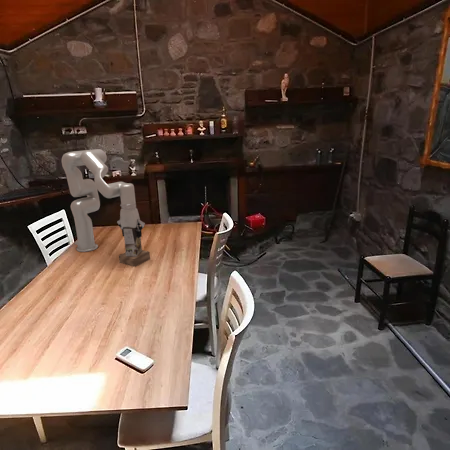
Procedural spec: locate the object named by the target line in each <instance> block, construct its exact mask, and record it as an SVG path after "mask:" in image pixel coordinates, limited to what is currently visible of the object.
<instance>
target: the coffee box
mask: <svg viewBox="0 0 450 450" xmlns="http://www.w3.org/2000/svg"><path fill="white" fill-rule="evenodd" d="M123 230H124V237H123V238H124V247H125V252H126V256H133V257H136V256H138V255H139V253H140V252H141V251H142V250H143V247H142V246H143V245H142V237H140V238H137V231H138V230H137V229H136V228H126V227H125V228H124V229H123Z"/></svg>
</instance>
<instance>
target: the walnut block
mask: <svg viewBox="0 0 450 450" xmlns="http://www.w3.org/2000/svg"><path fill="white" fill-rule="evenodd" d="M149 260H151V254H150V251H147V250H143V249H142V251H141V252H140V253H139V255H138V256H136V257H133V256H126V251H125V252H123V253H121V254H119V255H118V262H119V264H122V265H127V266H130V267H135V268H136V267H137V266H139V265H142V264H143V263H146V262H148V261H149Z"/></svg>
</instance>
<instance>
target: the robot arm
mask: <svg viewBox="0 0 450 450" xmlns="http://www.w3.org/2000/svg"><path fill="white" fill-rule="evenodd" d="M107 160H108V157H107V154H106V152H105V151H104V149H100V148H94V149H86V150H83V149H82V150H75V151H68V152H66V153H63V155H62V157H61V166H62V169H63V170H64V173H65V176H66V180H67V184H68V189H69V193H70V195H71V196H72V197H73V198H77V199H75V200H73V201H72V202H71V204H70V210H71V213H72V216H73V219H74V224H75V231H76V237H77V240H76V241H74V245H75V246H76V245H77V247H76V251H77V252H78V253H79V252H80V253H84V252H85V253H87V252H92V251H94V250H97V249H98V247H99V245H98V244H97V243H95V237H94V230H93V229H94V228H93V227H94V226H93V222H92V221H93V220H92V219H91V217H90V216H89V215H88V214H90V213H94V212H96V211H99V209H100V206H101V200H100V195H99V193H100V194H101V195H102V196H103V197H104V198H106V199H112V198H117V197H120V205H119V206H120V207H121V209H120V212H119V215H120V216H119V220H117V222H116V223H117V224H118V227H119V228H120V230H121V233H122V237H123V238H124V230H123V229H124V228H125V227H126V228H136V229H137V230H138V231H137V238H140V237H141V238H142V236H143V235H142V234H143V233H142V230H143V229H144V228H145V227H144V226H145V225H146V223H145V222H144V221H142V220H141V218H140V214H139V211H138V208H137V203H136V193H135V192H136V191H135V186H134V183H131V182H129V183H127V182H124V181H117V182H112V183H106V181H105V180H104V179H103V178H104V177H105V176H106V175H107V174H108V171H109V167H108V166H107V165H106V164H105V163H106V162H107ZM80 166H81V167H82V166H86V168H87V170H89V172H90V173H91V174H93V176H94V180H93V179H90V178H85V179H84V178H83V174H82V171H81V170H80V168H78V167H80ZM84 196H86V197H84ZM78 197H79V198H78ZM80 197H82V198H80Z"/></svg>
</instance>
